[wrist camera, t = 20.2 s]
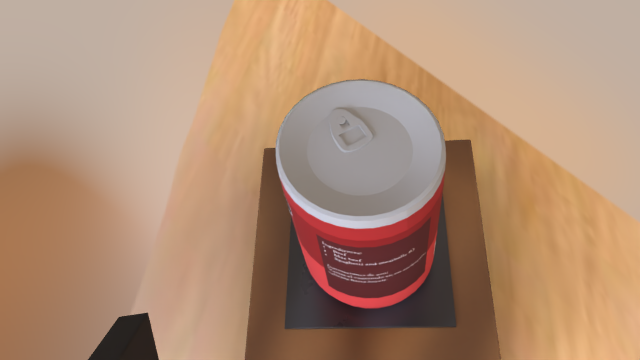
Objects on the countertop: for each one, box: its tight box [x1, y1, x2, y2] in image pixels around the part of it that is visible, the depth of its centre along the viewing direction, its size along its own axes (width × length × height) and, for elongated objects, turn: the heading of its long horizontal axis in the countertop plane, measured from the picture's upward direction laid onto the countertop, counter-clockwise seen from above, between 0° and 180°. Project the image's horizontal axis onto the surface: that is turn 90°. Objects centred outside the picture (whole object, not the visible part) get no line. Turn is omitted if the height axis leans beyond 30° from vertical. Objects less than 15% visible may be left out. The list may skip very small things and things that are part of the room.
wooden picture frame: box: [245, 140, 501, 360], centre depth 37 cm, size 14×16×4 cm
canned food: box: [276, 79, 446, 309], centre depth 31 cm, size 8×8×11 cm
